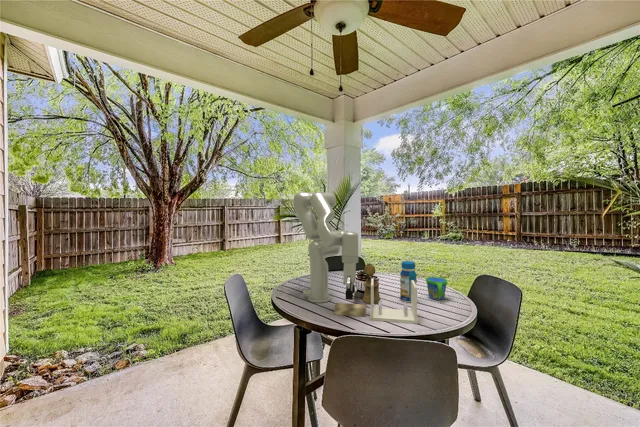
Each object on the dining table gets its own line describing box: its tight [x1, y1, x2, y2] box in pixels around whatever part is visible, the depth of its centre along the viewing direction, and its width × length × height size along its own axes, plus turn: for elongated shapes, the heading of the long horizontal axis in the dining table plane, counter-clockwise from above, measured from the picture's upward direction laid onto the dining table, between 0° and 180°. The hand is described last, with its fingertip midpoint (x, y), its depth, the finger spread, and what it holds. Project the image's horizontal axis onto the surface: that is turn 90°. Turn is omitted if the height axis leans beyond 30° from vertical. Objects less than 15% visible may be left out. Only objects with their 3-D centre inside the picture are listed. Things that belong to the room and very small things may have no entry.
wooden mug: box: [362, 263, 382, 305], centre depth 148 cm, size 9×14×18 cm, turn 179°
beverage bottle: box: [399, 260, 418, 303], centre depth 147 cm, size 8×8×20 cm
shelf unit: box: [369, 278, 419, 325], centre depth 125 cm, size 20×12×15 cm, turn 78°
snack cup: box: [425, 276, 449, 301], centre depth 150 cm, size 16×10×10 cm
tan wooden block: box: [333, 302, 367, 318], centre depth 129 cm, size 14×5×4 cm, turn 78°
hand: (350, 296), depth 129 cm, fingers open, 9 cm apart
